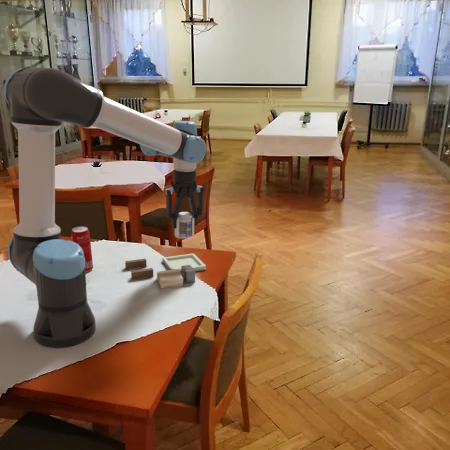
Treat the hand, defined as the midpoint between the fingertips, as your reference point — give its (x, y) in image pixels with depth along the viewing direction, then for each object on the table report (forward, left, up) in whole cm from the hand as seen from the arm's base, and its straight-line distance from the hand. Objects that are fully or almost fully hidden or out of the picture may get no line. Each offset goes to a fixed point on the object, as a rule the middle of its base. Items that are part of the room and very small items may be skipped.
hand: (184, 235), depth 156 cm
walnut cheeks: (0, +16, -11) cm, 20 cm away
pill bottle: (0, 0, -1) cm, 1 cm away
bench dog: (-11, +3, -11) cm, 16 cm away
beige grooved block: (-11, +9, -12) cm, 18 cm away
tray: (0, 0, -11) cm, 11 cm away
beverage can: (+8, +33, -11) cm, 36 cm away
